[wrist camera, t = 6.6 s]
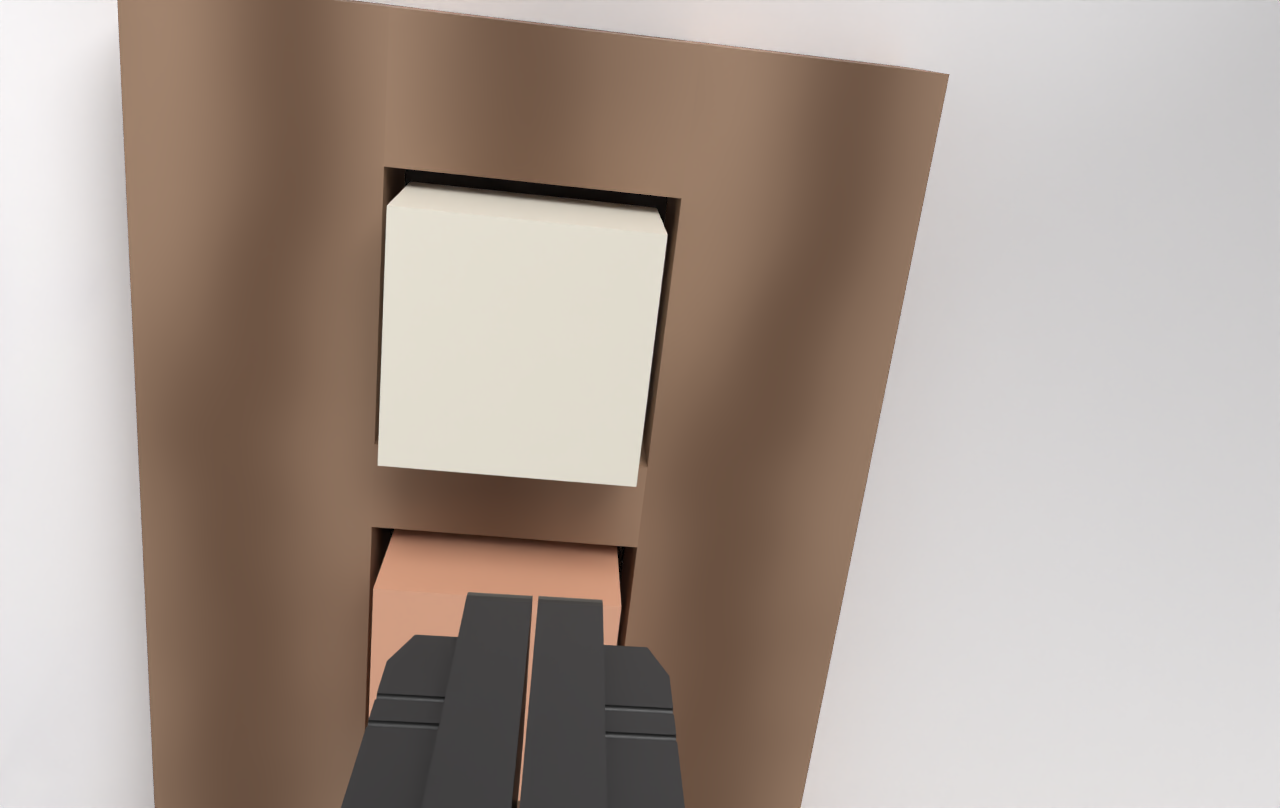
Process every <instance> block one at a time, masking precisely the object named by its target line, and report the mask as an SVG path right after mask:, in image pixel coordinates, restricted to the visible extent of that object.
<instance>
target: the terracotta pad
mask: <svg viewBox="0 0 1280 808" xmlns="http://www.w3.org/2000/svg"><path fill="white" fill-rule="evenodd" d="M468 592H476V593H493V594H510V595H527V596H533V602H532V619H531V634H530V649H529V664H528V679H527V694H526V709H525V723H524V737H523V750H522V762H521V773H520V784H519V795H518V801H520V796H521V785H522V774H523V763H524V752H525V740H526V729H527V718H528V707H529V696H530V685H531V674H532V663H533V651H534V640H535V629H536V618H537V607H538V597H539V596H548V597H565V598H582V599H599V600H603V632H604V645H615V646H617V638H618V630H619V622H620V614H621V595H620V581H619V568H618V554H617V546H613V545H600V544H587V543H574V542H561V541H548V540H535V539H522V538H510V537H497V536H484V535H471V534H458V533H445V532H432V531H419V530H406V529H394V532H393V535H392V537H391V540H390V543H389V546H388V549H387V551H386V554H385V557H384V560H383V563H382V566H381V568H380V571H379V574H378V577H377V580H376V583H375V585H374V588H373V611H372V639H371V668H370V696H369V716H370V713H371V710H372V707H373V704H374V700H376V697H377V691H378V688H379V684H380V681H381V678H382V675H383V672H384V668H385V665H386V662H387V660H388V659H389V658H391V657H392V656H393V655H394V654H395V653H396V652H397V651H398V650H399V649H400V648H401V647H402V646H403V645H404V644H405V643H407V642H408V641H409V640H410V639H411V638H412V637H413V636H414V635H432V636H450V637H458V634H459V629H460V625H461V620H462V615H463V611H464V606H465V601H466V597H467V593H468Z"/></svg>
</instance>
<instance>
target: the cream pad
mask: <svg viewBox="0 0 1280 808" xmlns="http://www.w3.org/2000/svg"><path fill="white" fill-rule="evenodd" d="M667 236H668V235H667V232H666V230H665V227H664V225H663V222H662V220H661V217H660V215H659V212H658V210H657V208H656V207H646V206H637V205H628V204H618V203H609V202H599V201H590V200H581V199H571V198H562V197H552V196H543V195H534V194H524V193H515V192H505V191H496V190H487V189H477V188H468V187H458V186H449V185H440V184H430V183H421V182H410V183H409V184H408V185H407V186H406V187H405V188H404V189H403V190H402V191H401V192H400V193H399V194H398V195H397V196H396V197H395V198H394V199H393V200H392V201H391V202H390V203H389V204H388V205H387V213H386V241H385V270H384V298H383V327H382V355H381V383H380V412H379V440H378V466H388V467H401V468H413V469H425V470H437V471H449V472H461V473H473V474H485V475H498V476H510V477H522V478H534V479H546V480H558V481H570V482H582V483H595V484H607V485H619V486H631V487H636V485H637V477H638V469H639V461H640V453H641V445H642V437H643V429H644V421H645V413H646V405H647V397H648V389H649V381H650V373H651V365H652V356H653V348H654V340H655V332H656V324H657V316H658V308H659V300H660V292H661V284H662V276H663V268H664V260H665V252H666V244H667Z"/></svg>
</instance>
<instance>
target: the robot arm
mask: <svg viewBox="0 0 1280 808" xmlns="http://www.w3.org/2000/svg"><path fill="white" fill-rule="evenodd" d="M532 602H533V596H527V595H510V594H493V593H476V592H468V593H467V597H466V601H465V606H464V611H463V615H462V620H461V625H460V629H459V634H458V637H450V636H432V635H414V636H413V637H412V638H411V639H410V640H409V641H408V642H407V643H405V644H404V645H403V646H402V647H401V648H400V649H399V650H398V651H397V652H396V653H395V654H394V655H393V656H392V657H391V658H389V659H388V660H387V662H386V665H385V668H384V672H383V675H382V678H381V681H380V684H379V688H378V691H377V697H376V700H374V704H373V707H372V710H371V713H370V716H369V720H368V727H366V729H365V732H364V735H363V739H362V742H361V745H360V748H359V751H358V755H357V758H356V761H355V764H354V767H353V771H352V774H351V777H350V780H349V783H348V786H347V790H346V793H345V796H344V799H343V802H342V806H341V808H517V806H518V795H519V784H520V773H521V762H522V750H523V737H524V723H525V709H526V694H527V679H528V664H529V649H530V634H531V619H532ZM519 808H685V804H684V796H683V787H682V779H681V770H680V762H679V753H678V745H677V742H676V727H675V719H674V715H673V702H672V693H671V685H670V676H669V675H668V673H667V672H666V671H665V670H664V668H663V667H662V666H661V664H660V663H659V662H658V660H657V659H656V658H655V657H654V655H653V654H652V653H651V651H650V650H649V649H648V647H633V646H615V645H604V632H603V600H599V599H582V598H565V597H548V596H539V597H538V607H537V618H536V629H535V640H534V651H533V663H532V674H531V685H530V696H529V707H528V718H527V729H526V740H525V752H524V763H523V774H522V785H521V796H520V807H519Z"/></svg>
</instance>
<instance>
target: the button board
mask: <svg viewBox="0 0 1280 808" xmlns="http://www.w3.org/2000/svg"><path fill="white" fill-rule="evenodd" d="M118 22H119V44H120V65H121V87H122V109H123V130H124V152H125V173H126V195H127V217H128V238H129V260H130V282H131V303H132V325H133V347H134V368H135V390H136V412H137V433H138V455H139V477H140V498H141V520H142V542H143V563H144V585H145V607H146V628H147V650H148V672H149V693H150V715H151V737H152V758H153V780H154V802H155V808H341V806H342V802H343V799H344V796H345V793H346V790H347V786H348V783H349V780H350V777H351V774H352V771H353V767H354V764H355V761H356V758H357V755H358V751H359V748H360V745H361V742H362V739H363V735H364V732H365V729H366V727H368V720H369V696H370V668H371V639H372V611H373V588H374V585H375V583H376V580H377V577H378V574H379V571H380V568H381V566H382V563H383V560H384V557H385V554H386V551H387V549H388V546H389V543H390V540H391V528H393V529H406V530H419V531H432V532H445V533H458V534H471V535H484V536H497V537H510V538H522V539H535V540H548V541H561V542H574V543H587V544H600V545H613V546H624V555H623V563H622V571H621V579H620V595H621V614H620V622H619V630H618V638H617V646H633V647H648V649H649V650H650V651H651V653H652V654H653V655H654V657H655V658H656V659H657V660H658V662H659V663H660V664H661V666H662V667H663V668H664V670H665V671H666V672H667V673H668V675H669V676H670V685H671V693H672V702H673V715H674V719H675V727H676V742H677V745H678V753H679V762H680V770H681V779H682V787H683V796H684V804H685V808H800V807H801V802H802V797H803V792H804V787H805V782H806V777H807V772H808V767H809V763H810V758H811V753H812V748H813V743H814V738H815V733H816V728H817V723H818V718H819V713H820V708H821V703H822V699H823V694H824V689H825V684H826V679H827V674H828V669H829V664H830V659H831V654H832V649H833V644H834V639H835V634H836V630H837V625H838V620H839V615H840V610H841V605H842V600H843V595H844V590H845V585H846V580H847V575H848V570H849V566H850V561H851V556H852V551H853V546H854V541H855V536H856V531H857V526H858V521H859V516H860V511H861V506H862V501H863V497H864V492H865V487H866V482H867V477H868V472H869V467H870V462H871V457H872V452H873V447H874V442H875V437H876V433H877V428H878V423H879V418H880V413H881V408H882V403H883V398H884V393H885V388H886V383H887V378H888V373H889V368H890V364H891V359H892V354H893V349H894V344H895V339H896V334H897V329H898V324H899V319H900V314H901V309H902V304H903V300H904V295H905V290H906V285H907V280H908V275H909V270H910V265H911V260H912V255H913V250H914V245H915V240H916V235H917V231H918V226H919V221H920V216H921V211H922V206H923V201H924V196H925V191H926V186H927V181H928V176H929V171H930V167H931V162H932V157H933V152H934V147H935V142H936V137H937V132H938V127H939V122H940V117H941V112H942V107H943V102H944V98H945V93H946V88H947V83H948V78H949V74H943V73H937V72H931V71H925V70H919V69H913V68H908V67H900V66H892V65H883V64H875V63H867V62H858V61H850V60H842V59H834V58H825V57H817V56H809V55H801V54H792V53H784V52H776V51H767V50H759V49H751V48H743V47H734V46H726V45H718V44H709V43H701V42H693V41H685V40H676V39H668V38H660V37H652V36H643V35H635V34H627V33H618V32H610V31H602V30H594V29H585V28H577V27H569V26H560V25H552V24H544V23H536V22H527V21H519V20H511V19H503V18H494V17H486V16H478V15H469V14H461V13H453V12H445V11H436V10H428V9H420V8H412V7H403V6H395V5H387V4H378V3H370V2H362V1H354V0H118ZM406 169H412V170H421V171H430V172H440V173H449V174H458V175H468V176H477V177H486V178H496V179H505V180H514V181H524V182H533V183H542V184H552V185H561V186H570V187H579V188H589V189H598V190H607V191H617V192H626V193H635V194H645V195H654V196H663V197H667V204H666V212H665V221H664V227H665V230H666V232H667V235H668V236H667V244H666V252H665V260H664V268H663V276H662V284H661V292H660V300H659V308H658V316H657V324H656V332H655V340H654V348H653V356H652V365H651V373H650V381H649V389H648V397H647V405H646V413H645V421H644V429H643V437H642V445H641V453H640V461H639V469H638V477H637V485H636V487H631V486H619V485H607V484H595V483H582V482H570V481H558V480H546V479H534V478H522V477H510V476H498V475H485V474H473V473H461V472H449V471H437V470H425V469H413V468H401V467H388V466H378V440H379V412H380V383H381V355H382V327H383V298H384V270H385V241H386V213H387V205H388V204H389V203H390V202H391V201H392V200H393V199H394V198H395V197H396V196H397V195H398V194H399V193H400V192H401V191H402V190H403V189H404V188H405V171H406ZM519 807H520V801H518V806H517V808H519Z"/></svg>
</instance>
